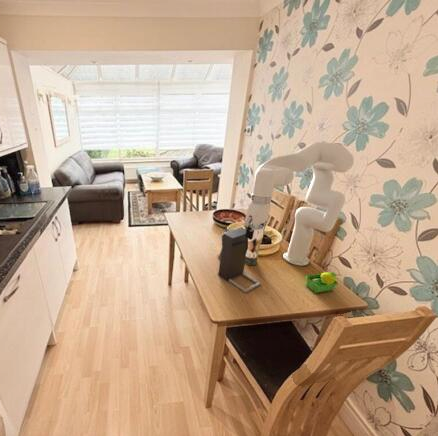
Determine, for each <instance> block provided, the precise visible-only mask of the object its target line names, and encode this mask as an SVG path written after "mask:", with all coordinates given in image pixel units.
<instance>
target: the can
mask: <svg viewBox="0 0 438 436" xmlns="http://www.w3.org/2000/svg"><path fill="white" fill-rule="evenodd" d="M260 248H261V245H260V246H259V248H258V254H259V252H260ZM257 261H258V257H257V258H248V257H246V261H245V265H249V266H255V265H256V264H257Z"/></svg>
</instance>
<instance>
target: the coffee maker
mask: <svg viewBox="0 0 438 436" xmlns="http://www.w3.org/2000/svg"><path fill="white" fill-rule="evenodd" d="M222 233H223V239H222V238H221V242H222V241H223V245H222V244H221V249H222V252H221V251H220V252H221V259H219V267H218V274H217V275H218V276H219V277H221V278H222V279H224V281H227V282H228V281H229V283H231V284H232V285H234V286H235V287H237V288H238V289H239V290H241V291H242V292H244V293H248V292H249V291H251V290H253V289H255V288H257V287H259V286H260V285H261V282H260V281H258V280H257V279H255V278H254V277H251V276H250V275H249V274H247V273H245V267H246V263H245V261H246V256H245V255H244V251H245V249H246V237H245V235H246V228H243V227H239V228H235V229H232V230H231V231H230V230H229V232H226V233H224V232H222ZM241 275H242V276H243V277H245V278H247V279H248V280H250V281H251V282H252V283H254V284H253V285H250V286H249V287H247V288H245V287H243V286H242V285H240V284H239V283H238V282H236V281H235V280H233V279H234V278H236V277H239V276H241Z"/></svg>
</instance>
